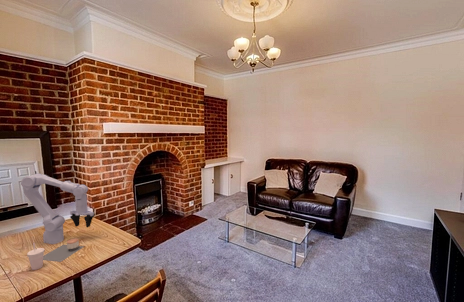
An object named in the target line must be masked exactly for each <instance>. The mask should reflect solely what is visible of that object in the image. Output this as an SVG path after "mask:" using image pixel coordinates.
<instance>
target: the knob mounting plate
mask: <svg viewBox="0 0 464 302" xmlns="http://www.w3.org/2000/svg"><path fill="white" fill-rule="evenodd" d="M84 247H85V246H83V245H79V246H78V247H76V248H73V249H68V248H67V244H61V245H60V246H58V247H56V248H55V249H52V250H51V251H49V252H47V253H46V254H44V256H43V261H48V262H49V261H50V262H57V263H58V262H59V263H61V262H63V261H65V260H66V259H67V258H69V257H71V256H72V255H73V254H76V253H77V252H78V251H80V250H82V249H83V248H84Z"/></svg>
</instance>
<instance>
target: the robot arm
mask: <svg viewBox="0 0 464 302" xmlns="http://www.w3.org/2000/svg"><path fill="white" fill-rule="evenodd" d="M43 184H45V185H49V186H54V187H58V188H60V190H61V191H64V192H66V193H71V194H73V196H75V198H74V199H75V210H72V211H70V212H69V213H70V214H69V215H70V216H69V217H70V219H71V220H72V222H73V224H74V226H75V227H77V228H78V227H79V226H80V219H81V216H84V217H83V219H84V223H85V228H90V227H91V224H92V220H93V218H94V216H95V211H91V210H88V197H87V192H88V191H89V187H88V186H87V185H86V184H80V183H75V182H72V181H71V180H65V181H63V180H59V179H56V178H54V177H50V176H49V175H47V174H42V173H41V172H40V173H35V174H32V175H27V176H24V177H23V178H22V180H21V182H20V185H21V186H22V189H23V193H24V195H25V197H26V198H27V199H28V200H29V202H30V203H31V204H32V205H33V207H34V208H35V210H36V211H37V212H38V213H39V214H40V216H41V217H42V218H43V220H42V225H43V226H44V227H43V228H44V232H43V234H42V237H43V243H44V244H49V245H56V244H60V243H62V242H63V241H64V239H65V237H64V224H65V222H66V219H65V217H64V216H63V215H61V214H60V213H59V212H55V211H54V209H52V208H51V206H50V205H49V203H48V202H47V201H46V200H45V198H44V197H43V195H41V193H40V192H39V188H40V186H41V185H43Z"/></svg>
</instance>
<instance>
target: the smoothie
mask: <svg viewBox="0 0 464 302" xmlns="http://www.w3.org/2000/svg"><path fill="white" fill-rule="evenodd" d="M32 245H33V246H32V247H33V249H30V251H28V252H27V253H26V254H27V255H26V256H27V258H28V261H29V265H30V267H31V270H32V271H36V270H39V269H41V268H42V267H43V266H44V265H43V264H44V260H43V256H44V255H45V252H46V251H45V248H44V247H37V248H36V243H35V242H33V244H32Z"/></svg>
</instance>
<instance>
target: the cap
mask: <svg viewBox="0 0 464 302" xmlns="http://www.w3.org/2000/svg"><path fill="white" fill-rule="evenodd" d="M66 245H67V248H68V249H73V248H76V247H78V246H80V242H79V238H77V237H76V238H75V237H74V238H70V239H67V241H66Z"/></svg>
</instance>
